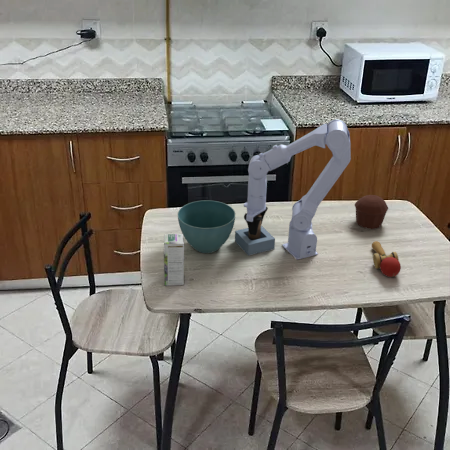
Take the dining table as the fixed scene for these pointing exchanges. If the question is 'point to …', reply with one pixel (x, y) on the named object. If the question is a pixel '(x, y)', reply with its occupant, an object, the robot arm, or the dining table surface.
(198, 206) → the teal bowl
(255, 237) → the peg
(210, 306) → the dining table surface
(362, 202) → the muffin
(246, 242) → the socket
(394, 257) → the kendama
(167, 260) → the syrup box
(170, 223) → the dining table surface
